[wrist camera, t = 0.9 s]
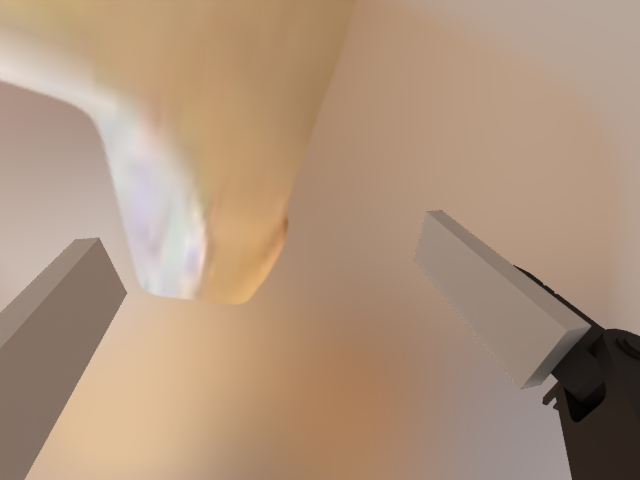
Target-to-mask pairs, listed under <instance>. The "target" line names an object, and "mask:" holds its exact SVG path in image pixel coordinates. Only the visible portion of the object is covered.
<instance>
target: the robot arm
mask: <svg viewBox="0 0 640 480" xmlns="http://www.w3.org/2000/svg"><path fill="white" fill-rule="evenodd" d="M414 261H415V262H416V263H417V265H418V266H419V267H420V268H421V270H422V271H423V272H424V273H425V275H426V276H427V277H428V278H429V279H430V281H431V282H432V283H433V284H434V286H436V288H437V289H438V290H439V291H440V293H441V294H442V295H443V296H444V298H445V299H446V300H447V301H448V303H449V304H450V305H451V306H452V307H453V309H454V310H455V311H456V312H457V313H458V315H459V316H460V317H461V318H462V320H463V321H464V322H465V323H466V324H467V326H468V327H469V328H470V329H471V331H472V332H473V333H474V334H475V335H476V337H477V338H478V339H479V340H480V341H481V343H482V344H483V345H484V346H485V348H486V349H487V350H488V351H489V352H490V354H491V355H492V356H493V357H494V358H495V360H496V361H497V362H498V363H499V364H500V366H501V367H502V368H503V369H504V371H505V372H506V373H507V374H508V376H509V377H510V378H511V379H512V380H513V382H514V383H515V384H516V385H517V386H518V388H519V389H524V388H528V387H533V386H537V385H541V384H542V383H543V381H544V380H545V379H546V378H547V377H548V376H549V375H550V373H551V374H552V375H553V376H554V377H555V378H556V379H557V380H558V382H557V383H556V384H555V385H554V386H553V387H552V389H551V390H550V391H549V392H548V393H547V394H546V395H545V396H544V397H543V404H544V405H548V404H549V403H550V401H552V399H553V398H554V397H555V398H556V401H557V403H556V404H555V405H554V406H553V408H554V409H556V410H558V411H559V416H560V420H561V426H562V431H563V436H564V441H565V446H566V451H567V456H568V461H569V466H570V471H571V476H572V480H640V336H638V335H636V334H633V333H631V332H628V331H624V330H619V329H607V330H605V329H604V328H602V327H601V326H599V325H598V324H597V323H595V322H594V321H593V320H591V319H590V318H589V317H587V316H586V315H585V314H583V313H582V312H581V311H579V310H578V309H577V308H575V307H574V306H573V305H571V304H570V303H569V302H568V301H566V300H565V299H564V298H562V297H561V296H560V295H558V294H555V293H554V291H553V290H551V289H550V288H549V287H548V286H546V285H545V286H544V285H543V283H542V282H541V281H540V280H538V279H537V278H536V277H534V276H533V275H532V274H530V273H529V272H527V271H525V270H523V269H521V268H519V267H517V266H515V265H512V264H511V263H509V262H508V261H507V260H505V259H504V258H503V257H501V256H500V255H499V254H498V253H496V252H495V251H494V250H492V249H491V248H490V247H488V246H487V245H486V244H485V243H483V242H482V241H481V240H479V239H478V238H477V237H475V236H474V235H473V234H472V233H470V232H469V231H468V230H466V229H465V228H464V227H463V226H461V225H460V224H459V223H457V222H456V221H455V220H453V219H452V218H451V217H450V216H448V215H447V214H446V213H445V212H443V211H442V210H439V211H427V212H426V216H425V219H424V223H423V227H422V230H421V234H420V238H419V242H418V245H417V249H416V253H415V256H414ZM126 294H127V292H126V290H125V288H124V286H123V284H122V282H121V280H120V278H119V276H118V274H117V272H116V270H115V268H114V266H113V264H112V262H111V260H110V258H109V256H108V254H107V252H106V250H105V248H104V247H103V244H102V242H101V240H100V238H89V239H76V240H74V241H73V242H72V243H71V244H70V245H69V246H68V247H67V248H66V249H65V250H64V251H63V252H62V253H61V254H60V255H59V256H58V257H57V258H56V259H55V260H54V261H53V262H52V263H51V264H50V265H49V266H48V267H47V268H45V270H43V271H42V273H40V274H39V275H38V276H37V277H36V278H35V279H34V280H33V281H32V282H31V283H30V284H29V285H28V286H27V287H26V288H25V289H24V290H23V291H22V292H21V293H20V294H19V295H18V296H17V297H16V298H15V299H14V300H13V301H12V302H11V303H10V304H9V305H8V306H7V307H6V308H5V309H4V310H3V311H2V312H1V313H0V480H24V479H25V478H26V476H27V474H28V472H29V470H30V469H31V467H32V465H33V463H34V461H35V459H36V458H37V456H38V454H39V452H40V450H41V449H42V447H43V445H44V443H45V441H46V439H47V438H48V436H49V434H50V432H51V430H52V429H53V427H54V425H55V423H56V421H57V419H58V418H59V416H60V414H61V412H62V410H63V409H64V407H65V405H66V403H67V401H68V399H69V398H70V396H71V394H72V392H73V391H74V389H75V387H76V385H77V383H78V381H79V380H80V378H81V376H82V374H83V372H84V371H85V369H86V367H87V365H88V363H89V362H90V360H91V358H92V356H93V354H94V352H95V351H96V348H97V347H98V345H99V343H100V341H101V340H102V338H103V336H104V334H105V333H106V331H107V329H108V327H109V325H110V323H111V321H112V320H113V318H114V316H115V314H116V313H117V311H118V309H119V307H120V305H121V304H122V302H123V300H124V298H125V296H126Z"/></svg>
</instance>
